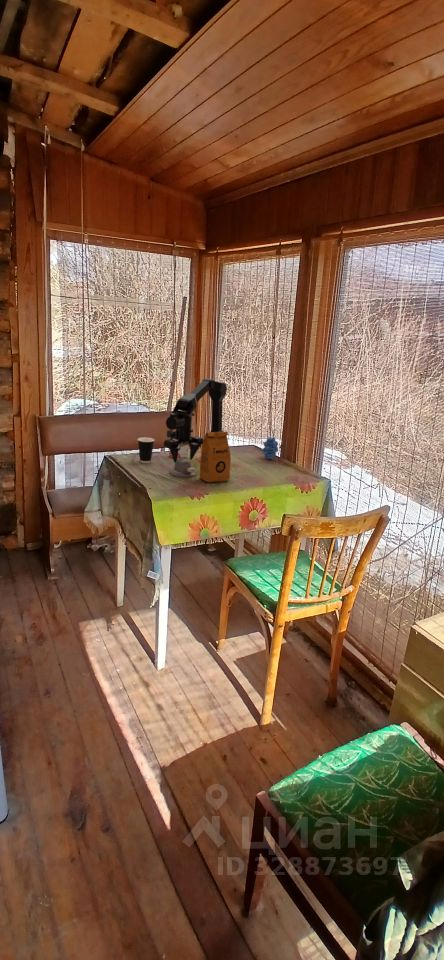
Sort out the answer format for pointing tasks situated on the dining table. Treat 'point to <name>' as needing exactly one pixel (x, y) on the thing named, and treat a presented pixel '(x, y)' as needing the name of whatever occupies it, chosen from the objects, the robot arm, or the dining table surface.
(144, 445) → the dixie cup
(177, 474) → the gray plate
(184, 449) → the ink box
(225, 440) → the coffee package
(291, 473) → the dining table surface
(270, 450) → the grapes
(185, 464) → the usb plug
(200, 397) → the robot arm
